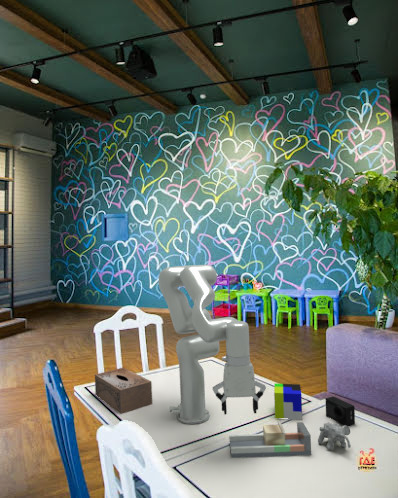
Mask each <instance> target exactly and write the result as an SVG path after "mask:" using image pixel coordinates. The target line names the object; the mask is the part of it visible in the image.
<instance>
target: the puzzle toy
mask: <svg viewBox="0 0 398 498" xmlns="http://www.w3.org/2000/svg"><path fill="white" fill-rule="evenodd" d="M273 388H274V391H273V392H274V393H273V395H274V398H273V399H274V419H275V418H288V419H290V420H289V421H303V402H302V401H303V399H302V388H301V384H300V383H298V384H297V383H296V384H295V383H274V387H273Z"/></svg>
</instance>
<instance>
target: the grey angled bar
mask: <svg viewBox="0 0 398 498" xmlns="http://www.w3.org/2000/svg"><path fill="white" fill-rule="evenodd" d="M296 424H297V425H296V427H297V428H296V429H297V431H296V433H298V439H299V441H300V443H301V444H304V448H305V451H311V452H312V441H311V439H312V437H311V436H312V435H311V433H310V432H309V430H308V429H307V426H306V425H305V423H304V422H303V421H300V422H296Z"/></svg>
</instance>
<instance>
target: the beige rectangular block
mask: <svg viewBox="0 0 398 498" xmlns="http://www.w3.org/2000/svg"><path fill="white" fill-rule="evenodd" d="M286 433H287V432H286V431H285V429H284V426H283V424H282V422H281V420H277V424H263V425H262V434H263V440H264V443H265V446H270V445H285V435H286Z"/></svg>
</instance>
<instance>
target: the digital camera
mask: <svg viewBox="0 0 398 498" xmlns="http://www.w3.org/2000/svg"><path fill="white" fill-rule="evenodd" d="M355 412H356V409H355V405H353V404H351V403H349V402H347V401H344V400H342V399H341V398H339V397H336V396H330V397H329V396H328V397H326V398H325V416H326V417H327V418H329V419H330V418H331V419H330V420H332V421H333V422H336V423H338V424H339V425H340V426H341V425H342V427H343V426H344V425H346V426H348V427H349V428H350V427H351V426H352V427H353V426H355V425H356V417H355V416H356V414H355Z"/></svg>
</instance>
